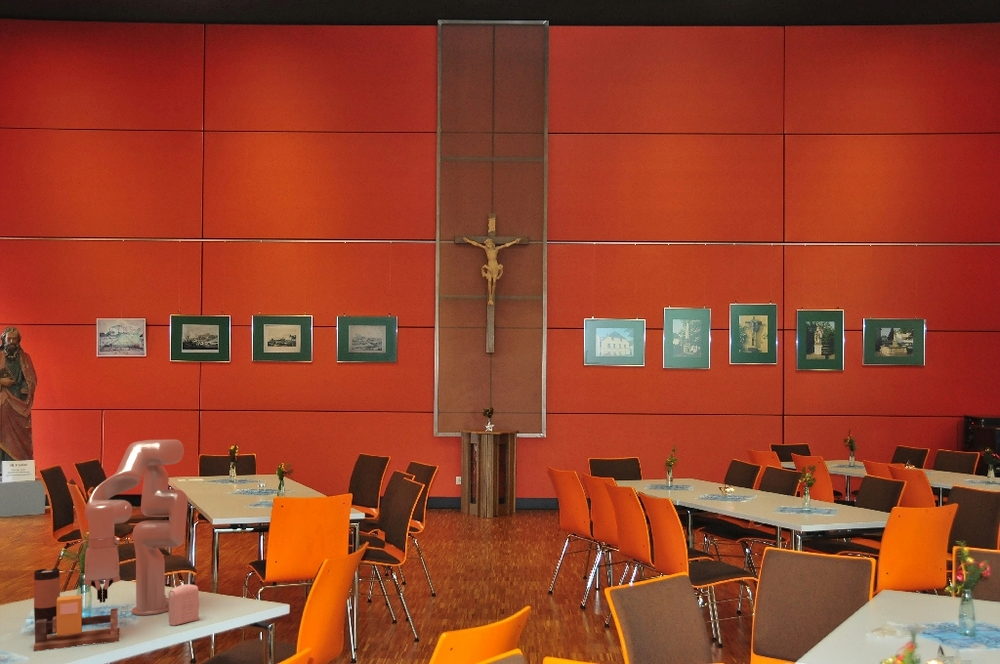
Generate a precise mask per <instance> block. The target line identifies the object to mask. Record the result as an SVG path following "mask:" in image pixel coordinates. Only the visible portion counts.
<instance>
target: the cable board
mask: <svg viewBox="0 0 1000 664" xmlns="http://www.w3.org/2000/svg"><path fill="white" fill-rule="evenodd" d="M118 610H119V609H118V607H117V608H110V614H105V615H96V616H93V615H92V616H86V617H82V627H83V626H91V625H92V626H93V625H99V624H110V628H104V629H95V630H85V631H82V633H75V634H66V635H57V634H56V633H55V632H57V616H56V617H53V621H47V619H41V620H36V622H35V621H34V645H33V652H38V651H37V650H40V651H46V650H45V649H49V650H55V649H54V648H58V649H65V648H64V647H67V648H72V647H71V646H75V647H78V646H77V645H83V644H93V643H102V642H103V643H102V644H105V643H104V642H110V643H116V642H115V641H119V642H120V633H119V632H120V627H119V626H118V623H119V621H118V620H119V617H118V613H119V612H118ZM47 629H53V633H54V634H49V635H47ZM93 645H94V644H93Z"/></svg>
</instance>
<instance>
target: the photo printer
mask: <svg viewBox="0 0 1000 664" xmlns="http://www.w3.org/2000/svg"><path fill="white" fill-rule="evenodd" d="M168 598H169V610H168V624H169V625H170V626H177V625H182V624H186V623H190V622H193V621H198V620H199V614H200V613H199V612H200V611H199V609H200V608H199V605H200V604H199V599H200V598H199V587H198V586H197V585H196V584H190V583H189V584H181V585H178V586H176V587H174V588H172V589H171V590H169V592H168Z"/></svg>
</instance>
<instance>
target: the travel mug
mask: <svg viewBox="0 0 1000 664" xmlns="http://www.w3.org/2000/svg"><path fill="white" fill-rule="evenodd" d="M33 576H34V577H33V578H34V579H33V580H34V582H33V593H34V594H33V614H34V619H33V620H34V623H35V622H36V620H41V619H47V621H53V617H56V616H57V598H58V597H61V589H60V588H61V587H60V584H61V583H60V582H61V581H60V580H61V579H60V568H58V567H57V568H56V567H54V568H52V569H47V568H41V569H36V570H35V571H34V574H33ZM55 634H57V632H55V633H53V629H47V635H55Z"/></svg>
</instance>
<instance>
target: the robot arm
mask: <svg viewBox="0 0 1000 664" xmlns="http://www.w3.org/2000/svg"><path fill="white" fill-rule="evenodd" d="M128 445H129V446H127V448H126V450H125V452H124V455H123V457H122V459H121V461H120V464H119V466H118V467H117V470H116V472H115V473H114V474H112V475H111V476H109V477H108V478H106V479H105V480H103V481H102V482H101V483H100V484H98V485H97V486H96V487H95V488H94V489H93V491H92V492H91V495H90V496H89V498H88V501H87V503H86V506H85V508H84V517H85V519H86V520H87V522H88V547H87V548H86V550H85V554H84V580H83V584H84V585H85V586H86V585H87V586H92V587H93V588H94V589H96V591H97V592H96V594H97V595H96V596H97V597H96V600H98V601H99V604H100V603H106V600H107V599H108V598H109V597H108V595H109V594H108V589H109V588H110V587H111V586H112V585H113V584H115V583H118V582H120V581H121V576H120V556H119V555H120V554H119V550H118V546H117V545H116V544H118V543H120V538H118V537H115V524H123V523H126V522H127V521H128V520H130V518H131V517H132V515H133V505H132V504H131V503H130V501H127V500H125V499H110V498H112V497H114V496H116V495H119V494H122V493H125V492H127V491H129V490H131V489H134V488H136V487H139V485H140V484H141V482H142V479H143V484H142V491H141V502H140V511H141V514H142V515H144V516H145V517H148V518H149V517H153V518H154V517H155V518H157V517H158V518H161V517H163V518H166V517H167V518H168V517H169V519H168V520H166V519H164V520H161V519H159V520H157V519H156V520H155V519H154V520H153V519H152V520H143V521H140V522H137V523H136V524H135V526H134V527H133V531H132V540H133V545H134V546H133V547H134V552H135V590H136V591H135V593H136V594H135V597H136V599H135V604H136V605H135V607H133V608H131V614H132V615H135V616H136V615H137V616H150V615H151V616H152V615H158V614H163V613H166V612H169V597H167V595H166V581H165V580H166V579H165V578H166V577H165V576H166V575H165V574H166V572H165V571H166V569H165V568H166V566H165V565H166V563H165V557H164V555H163V552H162V551H161V550H160V549H172V548H173V549H174V548H178V547H180V546H182V544H183V542H184V541H185V535H186V525H187V517H188V516H187V515H188V505H189V504H188V498H187V494H186V493H185V492H184V491H183V490H181V489H169V480H170V479H169V474H168V472H167V469H165V467H164V466H168V465H174V464H178V463H179V462H181V460H183V457H184V455H185V448H184V444H183V443H182V441H180V440H179V439H146V440H145V439H144V440H139V441H135V442H134V441H133V442H132V443H130V444H128ZM101 581H104V585H103V587H102V586H101Z"/></svg>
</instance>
